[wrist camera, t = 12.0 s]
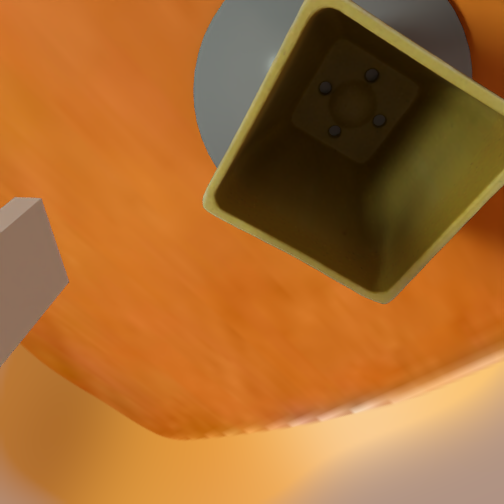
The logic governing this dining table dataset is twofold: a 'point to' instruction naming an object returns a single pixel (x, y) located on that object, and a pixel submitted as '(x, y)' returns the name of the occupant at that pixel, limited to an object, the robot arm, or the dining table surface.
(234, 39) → the grey round disc
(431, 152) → the flower pot
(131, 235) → the dining table surface
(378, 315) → the dining table surface
